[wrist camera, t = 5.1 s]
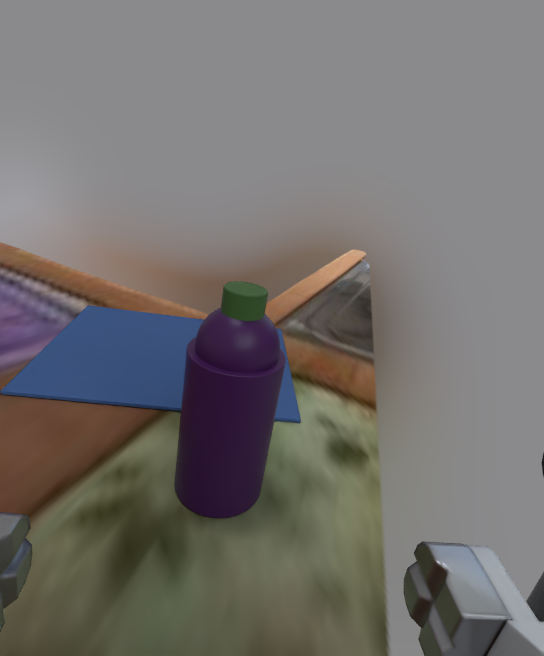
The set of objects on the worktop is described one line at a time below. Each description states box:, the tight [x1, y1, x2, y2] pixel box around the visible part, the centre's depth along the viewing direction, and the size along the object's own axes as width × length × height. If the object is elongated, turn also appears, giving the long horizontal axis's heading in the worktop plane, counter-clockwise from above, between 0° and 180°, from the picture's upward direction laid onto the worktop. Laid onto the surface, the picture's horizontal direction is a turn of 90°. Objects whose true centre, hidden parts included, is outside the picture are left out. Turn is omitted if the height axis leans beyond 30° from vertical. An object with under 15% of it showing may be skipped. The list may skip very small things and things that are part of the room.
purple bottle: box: [175, 282, 286, 518], centre depth 22 cm, size 5×5×12 cm
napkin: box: [1, 306, 301, 423], centre depth 39 cm, size 22×18×1 cm
